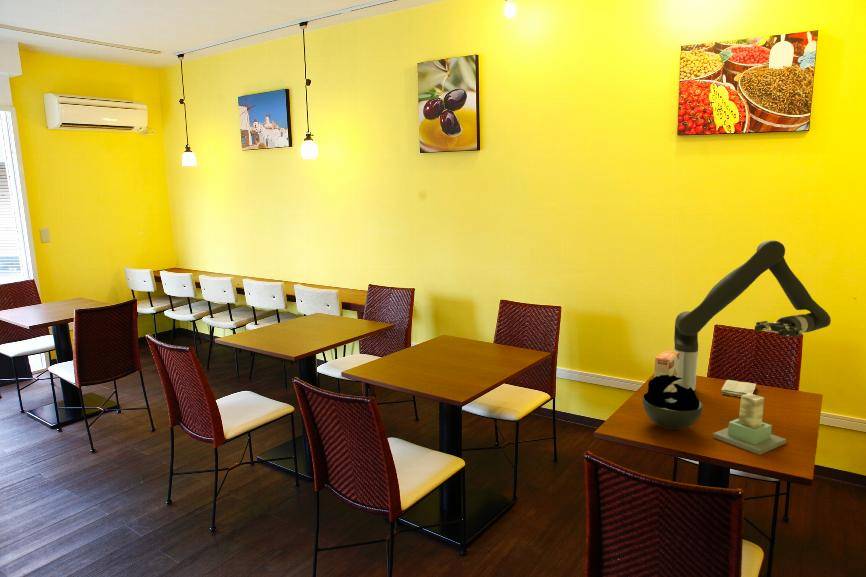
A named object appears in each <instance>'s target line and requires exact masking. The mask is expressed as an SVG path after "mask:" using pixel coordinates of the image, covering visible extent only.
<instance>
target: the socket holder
mask: <svg viewBox="0 0 866 577" xmlns="http://www.w3.org/2000/svg"><path fill="white" fill-rule="evenodd" d="M772 427H773V425H772V424H769V423H766V422H763V421H762V426H761V427H760V428H757V429H752V428H749V427H746V426H743V425H740V424H739V417H738V418H735V419H733V420H731V421H729V422H728V427H726V428H723V429H721V430H718V431H716V432H712V438H714V439H715V440H716V439H717V440H719V441H721V442H724V443H727V444H730V445H732V446H734V447H738V448H739V449H742V450H745V451H747V452H751V453H753V454H756V455H758V456H760V455H763V454H765V453H767V452H769V451H771V450H774V449H776V448H778V447H780V446H783V445H785V444H786V442H787V438H783V437H780V436H778V435H775V434H772Z"/></svg>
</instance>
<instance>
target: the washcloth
mask: <svg viewBox="0 0 866 577" xmlns="http://www.w3.org/2000/svg"><path fill="white" fill-rule="evenodd" d="M756 387H757V383H754V382H753V383H752V382H747V381H738V380H733V379H731V380H730V379H726V380H725V382H724V384H723V385H722V387H721V390H720V392H722V394H721V395H724V394H727V395H732V396H731V397H733V396H738V397H737V398H739V397H741V396H742V395H746V394H749V393H750V394H753V392H754V390H755V391H756ZM754 393H755V392H754ZM727 395H726V396H727Z"/></svg>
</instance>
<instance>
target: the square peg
mask: <svg viewBox="0 0 866 577" xmlns="http://www.w3.org/2000/svg"><path fill="white" fill-rule="evenodd" d="M764 403H765V397H763V396H760V395H757V394H755V393H754V394H750V393H749V394H746V395H742V396H741V398H740V403H739V404H740V405H739V415H738V418H739V424H740V425H743V426H746V427H749V428H752V429H757V428H760V427H761V426H762V422H763V417H764V416H763V414H764V405H765V404H764Z"/></svg>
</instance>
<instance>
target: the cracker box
mask: <svg viewBox="0 0 866 577" xmlns="http://www.w3.org/2000/svg"><path fill="white" fill-rule="evenodd" d="M679 355H680V353H679V352H675V351H673V350H667V349H665V350H664V351H663V352H661V353H660V354H659V355H657V356H656V357H655V360H654V372H653V373H654V375H653V378H654V377H656V376H658V377H659V376H660V375H669V376H672V375H674V376H676V377H678V366H679ZM673 384H677V381H674V382H672V383H671V384H670V385H669V386H668V387H667V388H666V389H665V390H664V392H677V390H676V388H675V387H674V385H673Z"/></svg>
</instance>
